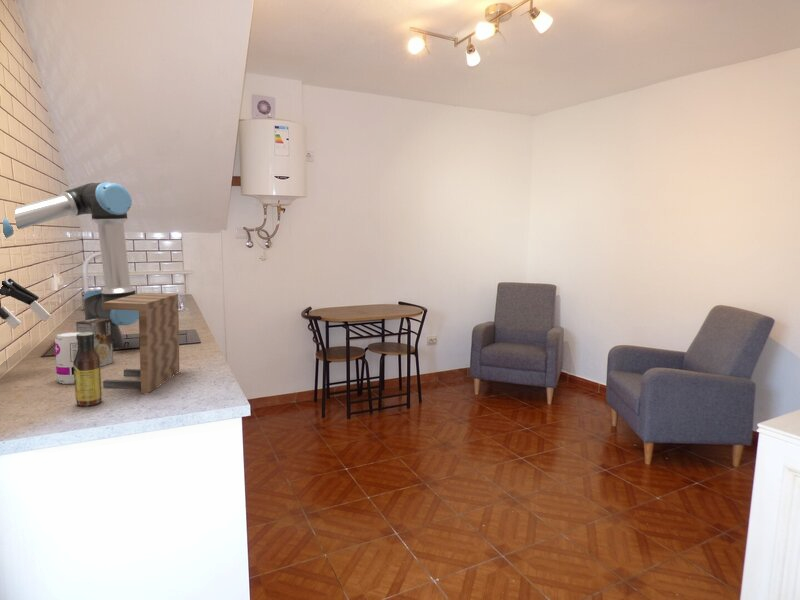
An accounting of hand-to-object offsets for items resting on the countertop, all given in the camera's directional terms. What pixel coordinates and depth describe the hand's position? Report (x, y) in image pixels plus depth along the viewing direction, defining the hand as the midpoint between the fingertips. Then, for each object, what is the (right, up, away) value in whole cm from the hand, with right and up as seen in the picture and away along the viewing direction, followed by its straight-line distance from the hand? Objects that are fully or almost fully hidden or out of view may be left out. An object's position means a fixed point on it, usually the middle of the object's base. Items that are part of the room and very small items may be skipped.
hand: (33, 321), depth 154 cm
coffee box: (+6, -16, +22) cm, 28 cm away
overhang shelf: (+30, -19, +5) cm, 36 cm away
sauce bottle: (+27, -22, -16) cm, 38 cm away
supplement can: (+10, -19, +3) cm, 22 cm away
